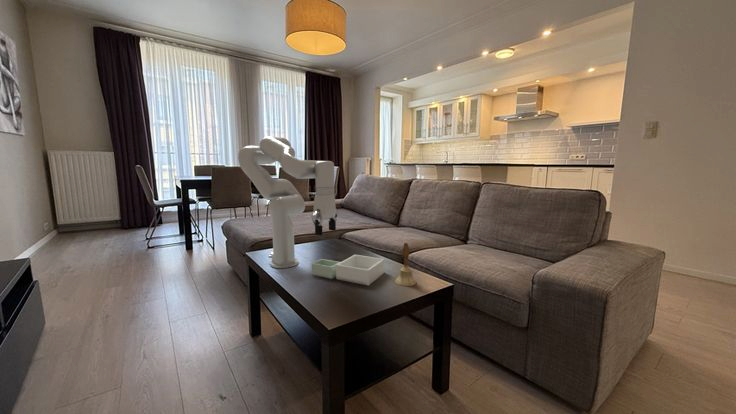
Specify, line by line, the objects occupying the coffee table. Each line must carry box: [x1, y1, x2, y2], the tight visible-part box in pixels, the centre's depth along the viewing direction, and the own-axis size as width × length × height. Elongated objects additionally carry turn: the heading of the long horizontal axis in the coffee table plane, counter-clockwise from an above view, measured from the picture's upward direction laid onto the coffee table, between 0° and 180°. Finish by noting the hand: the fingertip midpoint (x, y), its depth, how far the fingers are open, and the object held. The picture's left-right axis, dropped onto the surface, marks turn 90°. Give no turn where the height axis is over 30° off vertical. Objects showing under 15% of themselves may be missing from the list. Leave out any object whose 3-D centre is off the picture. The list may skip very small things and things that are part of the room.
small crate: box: [311, 258, 341, 280], centre depth 128 cm, size 10×7×5 cm
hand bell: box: [394, 242, 417, 287], centre depth 119 cm, size 8×8×16 cm
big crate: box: [335, 254, 386, 286], centre depth 126 cm, size 15×16×6 cm
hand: (325, 232), depth 126 cm, fingers open, 9 cm apart
